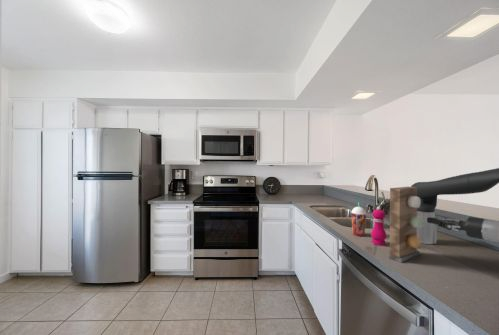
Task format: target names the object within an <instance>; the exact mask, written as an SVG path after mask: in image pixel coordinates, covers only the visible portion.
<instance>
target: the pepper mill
mask: <svg viewBox="0 0 499 335" xmlns="http://www.w3.org/2000/svg"><path fill="white" fill-rule="evenodd" d="M372 217H373V221H374V226H373V229H372V230H371V232H370V236H371V238H372V239H371V242H372V244H373V245H376V246H382V247H384V246H386V239H387V233H386V230H385V228H384V222H385V218H386V213H385V211H384V210H382V209H381V207H380V206H377V207H376V209H375V210H373V211H372Z"/></svg>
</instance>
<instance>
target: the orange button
mask: <svg viewBox="0 0 499 335" xmlns="http://www.w3.org/2000/svg"><path fill="white" fill-rule="evenodd" d="M407 244H408V246H410V247H414V248H417V249H419V248H420V246H421V243H420V238H419V237H416V236H412V235H409V237H408V239H407Z"/></svg>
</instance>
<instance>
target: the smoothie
mask: <svg viewBox="0 0 499 335" xmlns="http://www.w3.org/2000/svg"><path fill="white" fill-rule="evenodd" d="M350 214H351V216H350V218H351V233H352V234H353V235H354V236H356V235H357V237H363V235H365V234H366V222H367V221H366V220H367V212H366V210H365V209H364V208H363V207H362V206H360V202H357V206H355V207H353V208H352V210H351V211H350Z"/></svg>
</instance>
